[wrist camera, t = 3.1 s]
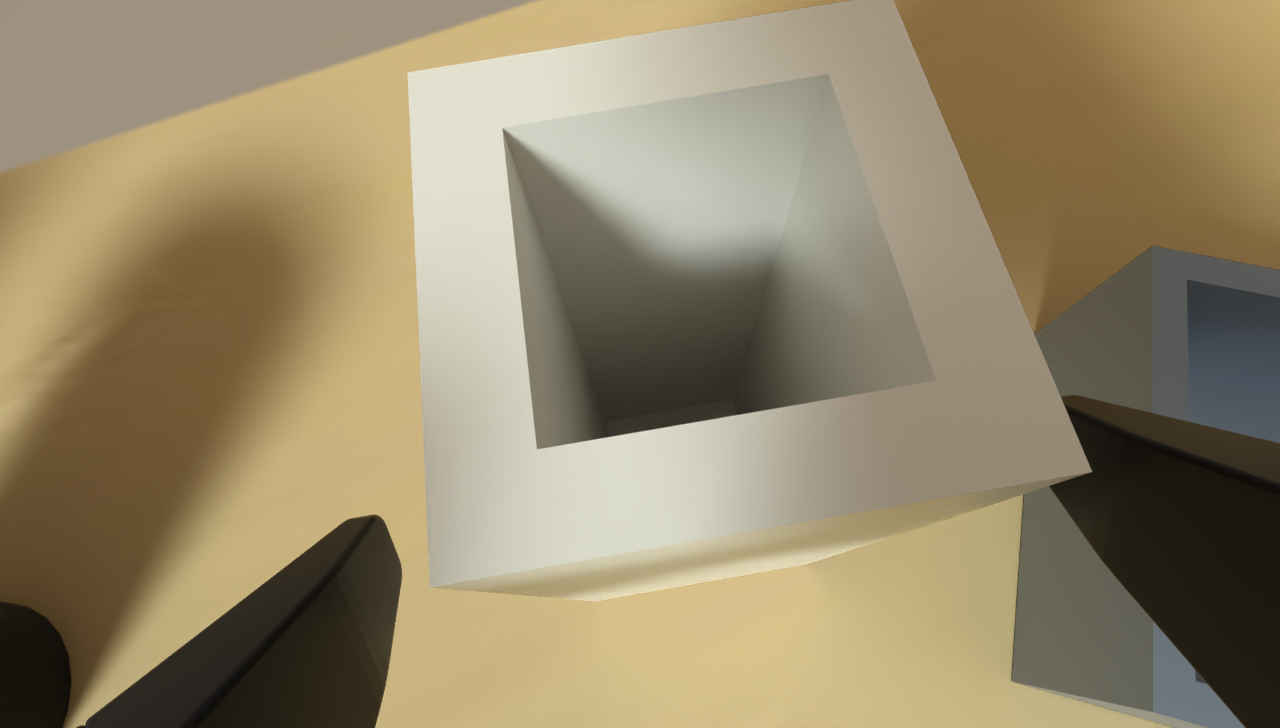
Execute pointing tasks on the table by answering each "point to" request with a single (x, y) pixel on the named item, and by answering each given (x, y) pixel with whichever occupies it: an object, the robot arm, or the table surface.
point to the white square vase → (709, 310)
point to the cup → (31, 670)
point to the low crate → (1162, 384)
